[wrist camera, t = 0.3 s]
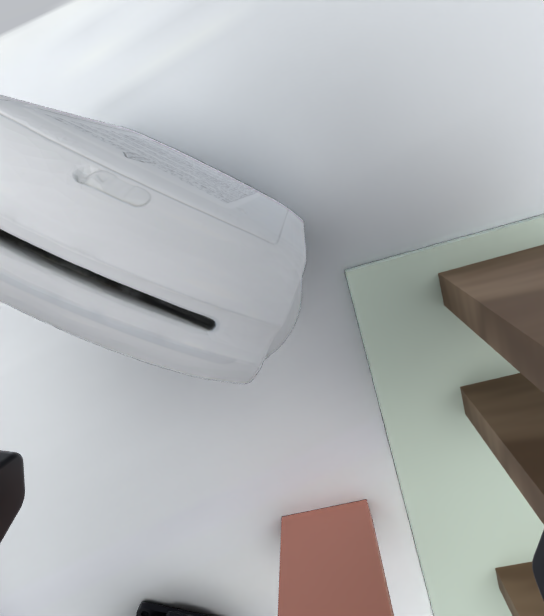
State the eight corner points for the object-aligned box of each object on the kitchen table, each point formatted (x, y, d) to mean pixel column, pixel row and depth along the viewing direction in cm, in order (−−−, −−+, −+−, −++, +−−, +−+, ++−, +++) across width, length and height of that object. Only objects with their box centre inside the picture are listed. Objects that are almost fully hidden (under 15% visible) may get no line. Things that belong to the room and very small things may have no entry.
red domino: (372, 521, 24) (422, 744, 15) (289, 537, 25) (285, 761, 16) (366, 499, 24) (413, 714, 14) (281, 516, 25) (273, 733, 15)
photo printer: (77, 203, 20) (-244, 248, 8) (106, 112, 18) (-226, 4, 7) (276, 297, 21) (253, 462, 9) (317, 216, 19) (352, 283, 8)
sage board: (662, 641, 26) (669, 650, 25) (448, 672, 28) (451, 681, 27) (639, 187, 18) (648, 187, 18) (344, 270, 20) (345, 272, 20)
